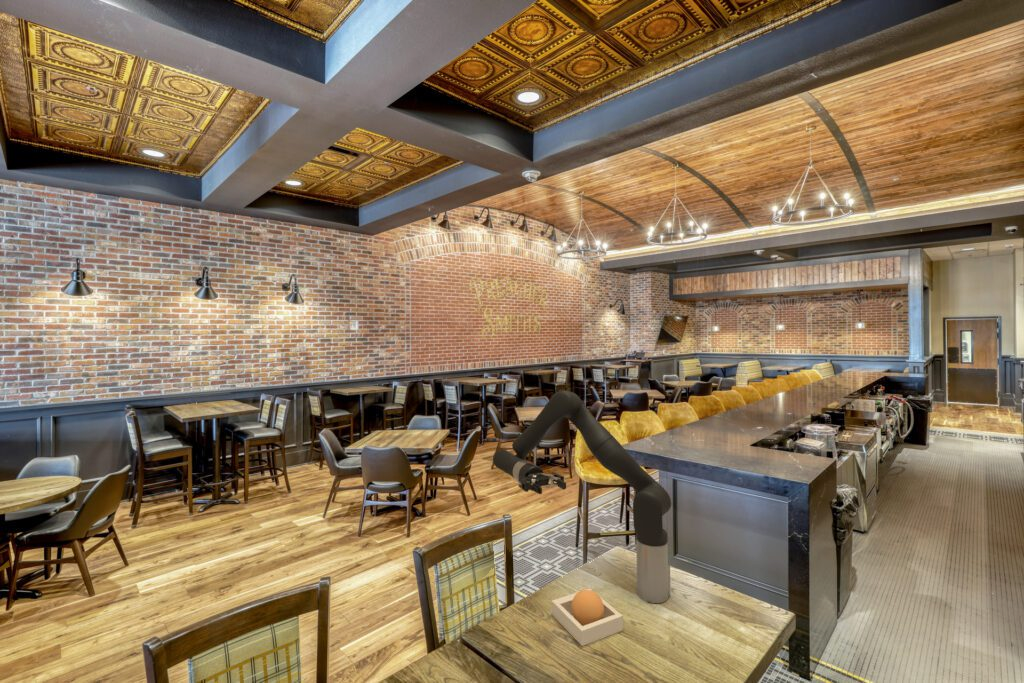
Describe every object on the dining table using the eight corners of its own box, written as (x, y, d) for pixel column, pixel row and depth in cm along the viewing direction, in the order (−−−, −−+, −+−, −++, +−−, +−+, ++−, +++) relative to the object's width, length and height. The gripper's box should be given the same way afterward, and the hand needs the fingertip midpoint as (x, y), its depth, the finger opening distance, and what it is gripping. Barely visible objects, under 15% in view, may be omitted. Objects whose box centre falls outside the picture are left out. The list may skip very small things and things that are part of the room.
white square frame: (589, 601, 136) (589, 588, 136) (622, 630, 123) (622, 615, 123) (551, 614, 130) (551, 600, 130) (582, 646, 117) (581, 631, 117)
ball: (590, 580, 132) (609, 594, 124) (591, 611, 132) (611, 627, 124) (564, 589, 128) (582, 604, 120) (566, 621, 128) (584, 638, 120)
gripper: (508, 465, 149) (532, 480, 134) (545, 460, 155) (572, 472, 140) (509, 488, 149) (533, 505, 134) (546, 481, 155) (572, 496, 141)
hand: (553, 488), depth 137 cm, fingers open, 8 cm apart
